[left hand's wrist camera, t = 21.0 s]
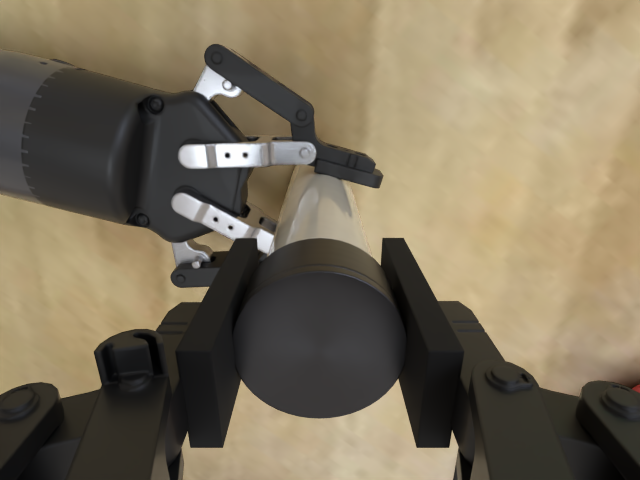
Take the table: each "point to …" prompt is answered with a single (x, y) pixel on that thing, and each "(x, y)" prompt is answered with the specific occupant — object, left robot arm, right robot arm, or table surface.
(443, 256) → the table surface
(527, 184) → the table surface
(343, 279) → the lid
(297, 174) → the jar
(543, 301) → the table surface
